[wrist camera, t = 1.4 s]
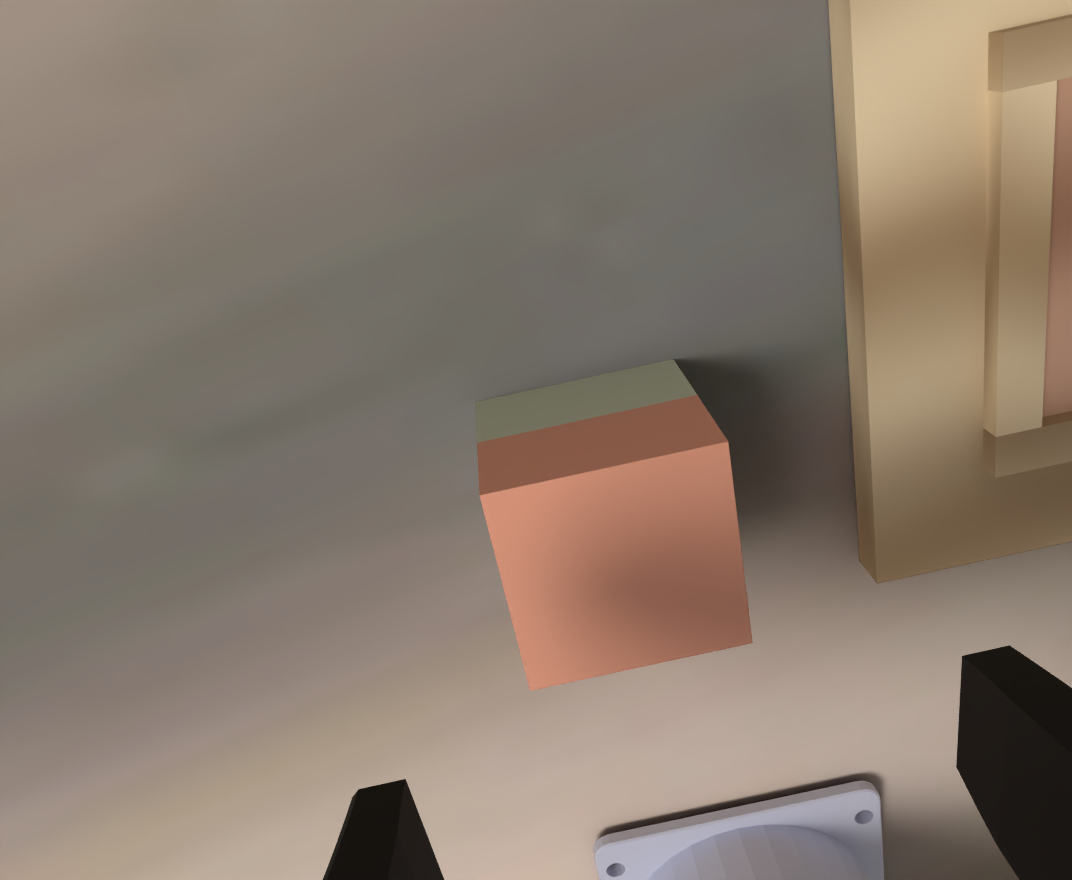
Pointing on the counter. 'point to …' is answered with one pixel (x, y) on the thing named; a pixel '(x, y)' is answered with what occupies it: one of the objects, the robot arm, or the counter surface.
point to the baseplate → (956, 275)
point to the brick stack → (612, 523)
